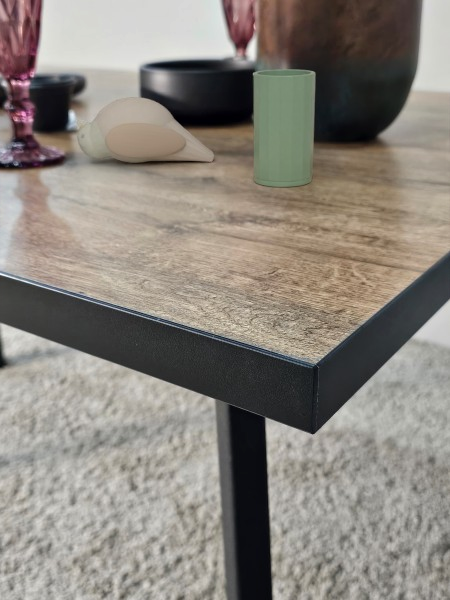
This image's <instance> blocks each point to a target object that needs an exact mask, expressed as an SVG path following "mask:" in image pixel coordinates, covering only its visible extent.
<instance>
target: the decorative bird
mask: <svg viewBox="0 0 450 600" xmlns="http://www.w3.org/2000/svg"><path fill="white" fill-rule="evenodd" d="M75 120H76V126H77V127H76V129H77V135H76V137H77V143H78V147H79V148H80V149H81V151H82V152H83V153H84V154H85V156H87V157H89V158H92V159H95V160H103V159H106V158H113V159H115V160H117V161H120V162H123V163H132V164H134V163H135V164H140V163H146V162H170V161H171V162H209V163H212V162H213V160H214V159H215V155H214V154H215V153H214V152H213V150H211V149H210V148H208V147H206V145H204V144H203V143H202V142H201V141H200V140H198V139H197V138H196V137H195V136H194V135H193V134H191V132H189V131H188V129H186V128H185V127H183V126H182V125H181V124H180V123H179V122H178V121H177V120H176V119H175V118H174V116H173V114H171V112H170V111H169V110H168V108H166V107H165V106H163V104H160V103H159V102H158V101H157V102H156V101H155V100H153V99H149V98H145V97H139V96H131V97H130V96H129V97H128V96H127V97H122V98H119V99H116V100H113V101H112V102H110V103H107V104H106V105H105V106H104V107H102V109H100V110H99V112H98V113H97V114H96V116H95V118H94V119H93V120H92V122H87V121H85V120H83V119H81V118H79V117H75Z"/></svg>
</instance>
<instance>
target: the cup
mask: <svg viewBox="0 0 450 600" xmlns="http://www.w3.org/2000/svg"><path fill="white" fill-rule="evenodd" d="M315 104H316V72H315V71H313V70H309V69H308V70H307V69H288V68H287V69H265V70H264V69H263V70H258V71H255V72H253V73H252V138H253V139H252V140H253V141H252V144H253V145H252V146H253V147H252V148H253V149H252V150H253V153H252V155H253V156H252V157H253V161H252V166H253V167H252V168H253V169H252V170H253V171H252V172H253V173H252V174H253V181H254V183H256V184H258V185H260V186H261V185H262V186H266V187H272V188H293V187H301V186H305V185H308V184H310V183H311V182H312V181H313V175H314V146H315V145H314V143H315V142H314V141H315V140H314V138H315V108H316V107H315V106H316V105H315Z"/></svg>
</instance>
